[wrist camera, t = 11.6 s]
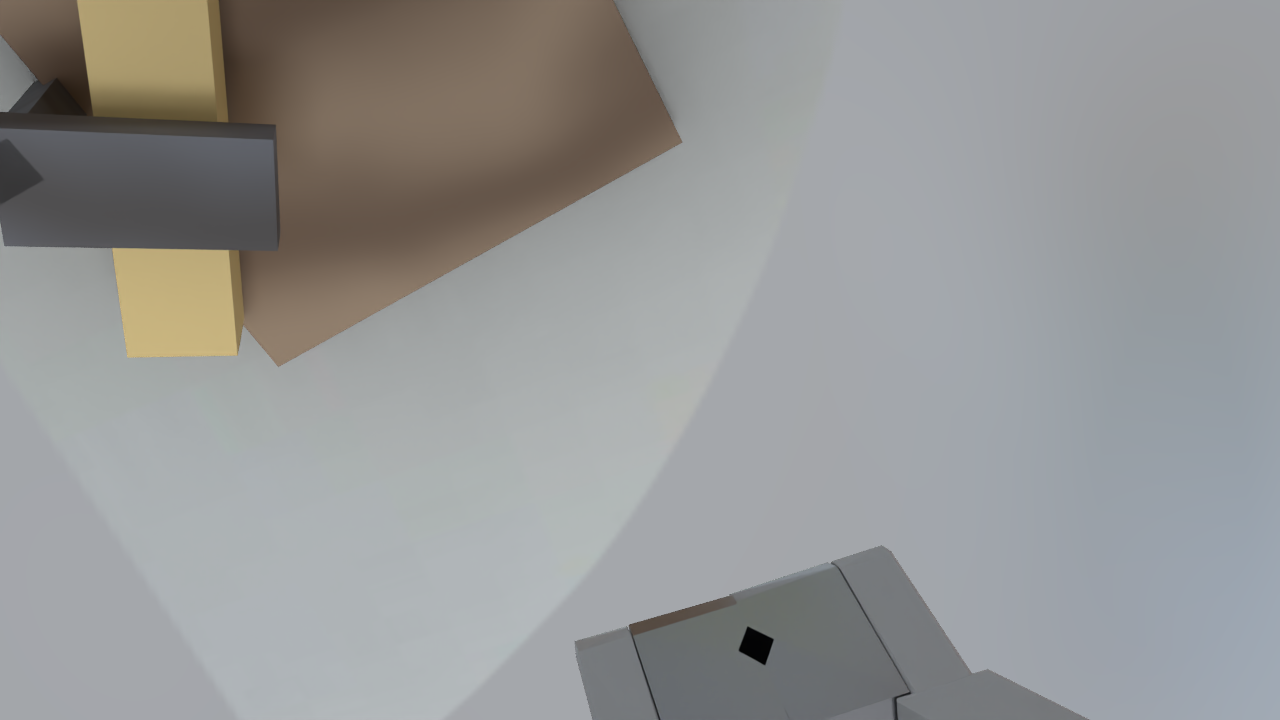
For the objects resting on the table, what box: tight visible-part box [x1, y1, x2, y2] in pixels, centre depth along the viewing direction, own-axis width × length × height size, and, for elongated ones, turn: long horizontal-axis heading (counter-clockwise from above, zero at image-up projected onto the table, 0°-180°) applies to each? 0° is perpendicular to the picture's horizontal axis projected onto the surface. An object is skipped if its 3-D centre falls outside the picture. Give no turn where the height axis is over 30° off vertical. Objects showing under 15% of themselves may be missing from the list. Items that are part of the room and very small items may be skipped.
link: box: [77, 0, 244, 357], centre depth 29 cm, size 18×4×2 cm, turn 174°
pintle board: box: [0, 0, 682, 367], centre depth 29 cm, size 20×16×7 cm
